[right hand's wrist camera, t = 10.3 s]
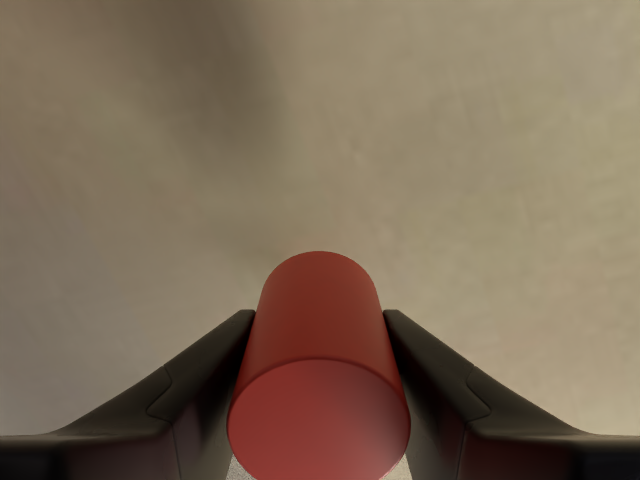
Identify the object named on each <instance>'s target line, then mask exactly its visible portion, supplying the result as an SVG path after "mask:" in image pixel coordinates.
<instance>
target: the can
mask: <svg viewBox="0 0 640 480" xmlns="http://www.w3.org/2000/svg"><path fill="white" fill-rule="evenodd" d="M226 430H227V437H228V441H229V444H230V447H231V450H232V452H233V454H234V456H235V457H236V459H237V460H238V462H239V463H240V464H241V466H242V467H243V468H244V469H245V470H246V471H247V472H248V473H249V474H250V475H252V476H253V477H254V478H255V479H257V480H381V479H382V478H384V477H385V476H386V475H387V474H388V473H389V472H391V471H392V470H393V468H394V467H395V466H396V465H397V464H398V463H399V461H400V460H401V458H402V457H403V455H404V453H405V451H406V448H407V446H408V442H409V439H410V435H411V415H410V411H409V407H408V404H407V400H406V397H405V393H404V389H403V386H402V382H401V378H400V375H399V371H398V368H397V364H396V360H395V357H394V353H393V350H392V346H391V342H390V339H389V335H388V332H387V328H386V324H385V321H384V317H383V313H382V310H381V306H380V303H379V299H378V295H377V292H376V288H375V286H374V283H373V281H372V280H371V278H370V276H369V275H368V274H367V272H366V271H365V270H364V269H363V268H362V267H361V266H360V265H359V264H357V263H356V262H354V261H353V260H351V259H349V258H347V257H345V256H343V255H340V254H336V253H332V252H325V251H313V252H306V253H302V254H298V255H296V256H293V257H291V258H289V259H287V260H286V261H284V262H283V263H281V264H280V265H279V266H278V267H276V268H275V269H274V270H273V272H272V273H271V274H270V275H269V277H268V279H267V280H266V282H265V284H264V287H263V290H262V293H261V297H260V300H259V304H258V307H257V311H256V314H255V318H254V321H253V325H252V328H251V332H250V335H249V339H248V342H247V345H246V349H245V352H244V356H243V359H242V363H241V366H240V370H239V373H238V377H237V380H236V384H235V387H234V391H233V394H232V398H231V401H230V405H229V409H228V413H227V418H226Z"/></svg>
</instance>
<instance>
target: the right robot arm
mask: <svg viewBox="0 0 640 480" xmlns="http://www.w3.org/2000/svg"><path fill="white" fill-rule="evenodd" d="M255 314H256V312H255V310H240V311H238V312H237V313H236V314H234V315H233V316H231V317H230V318H229V319H227V320H226V321H224V322H223V323H222V324H220V325H219V326H217V327H216V328H215V329H213V330H212V331H210V332H209V333H208V334H206V335H205V336H203V337H202V338H201V339H199V340H198V341H196V342H195V343H194V344H192V345H191V346H189V347H188V348H187V349H185V350H184V351H182V352H181V353H180V354H178V355H177V356H176V357H174V358H173V359H171V360H170V361H169V362H167V363H166V364H164V366H161V367H160V368H159V369H157V370H156V371H154V372H153V373H152V374H150V375H149V376H147V377H146V378H144V379H143V380H141V381H140V382H138V383H137V384H135V385H134V386H132V387H131V388H129V389H127V390H126V391H124V392H123V393H121V394H119V395H118V396H116V397H114V398H113V399H111V400H109V401H108V402H106V403H104V404H103V405H101V406H99V407H98V408H96V409H94V410H93V411H91V412H89V413H88V414H86V415H84V416H83V417H81V418H79V419H78V420H76V421H74V422H72V423H71V424H69V425H67V426H65V427H63V428H61V429H58V430H56V431H52V432H49V433H45V434H39V435H13V436H0V480H226V476H227V472H228V469H229V465H230V462H231V458H232V455H233V452H232V450H231V447H230V444H229V441H228V437H227V430H226V418H227V413H228V409H229V405H230V401H231V398H232V394H233V391H234V387H235V384H236V380H237V377H238V373H239V370H240V366H241V363H242V359H243V356H244V352H245V349H246V345H247V342H248V339H249V335H250V332H251V328H252V325H253V321H254V318H255ZM383 317H384V321H385V324H386V328H387V332H388V335H389V339H390V342H391V346H392V350H393V353H394V357H395V360H396V364H397V368H398V371H399V375H400V378H401V382H402V386H403V389H404V393H405V397H406V400H407V404H408V407H409V411H410V415H411V435H410V439H409V442H408V446H407V448H406V451H405V454H406V458H407V461H408V465H409V469H410V472H411V476H412V480H640V436H624V435H598V434H592V433H588V432H585V431H581V430H579V429H577V428H574V427H572V426H570V425H568V424H567V423H565V422H563V421H561V420H560V419H558V418H556V417H555V416H553V415H551V414H550V413H548V412H546V411H545V410H543V409H541V408H540V407H538V406H536V405H535V404H533V403H531V402H530V401H528V400H526V399H525V398H523V397H521V396H520V395H518V394H517V393H515V392H513V391H512V390H510V389H509V388H507V387H505V386H504V385H502V384H501V383H499V382H498V381H496V380H495V379H493V378H492V377H490V376H489V375H488V374H486V373H485V372H483V371H482V370H481V369H479V368H478V367H476V366H475V367H474V365H473V364H472V363H471V362H469V361H468V360H467V359H465V358H464V357H462V356H461V355H460V354H458V353H457V352H455V351H454V350H453V349H451V348H450V347H449V346H447V345H446V344H444V343H443V342H442V341H440V340H439V339H437V338H436V337H435V336H433V335H432V334H431V333H429V332H428V331H426V330H425V329H424V328H422V327H421V326H419V325H418V324H417V323H415V322H414V321H413V320H411V319H410V318H408V317H407V316H406V315H404V314H403V313H401V312H400V311H399V310H384V311H383Z"/></svg>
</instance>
